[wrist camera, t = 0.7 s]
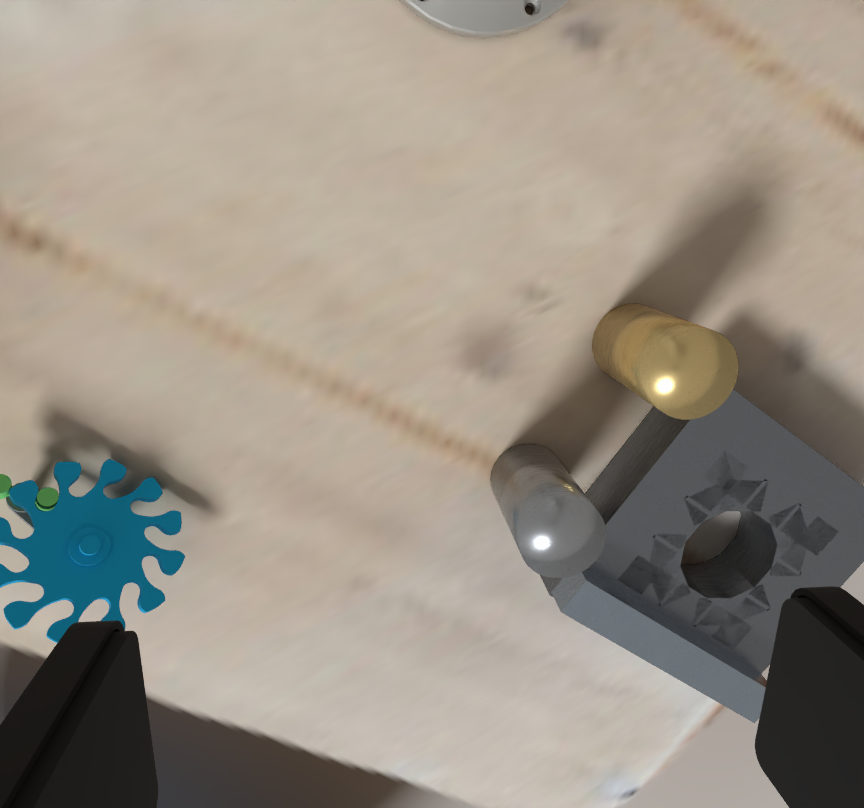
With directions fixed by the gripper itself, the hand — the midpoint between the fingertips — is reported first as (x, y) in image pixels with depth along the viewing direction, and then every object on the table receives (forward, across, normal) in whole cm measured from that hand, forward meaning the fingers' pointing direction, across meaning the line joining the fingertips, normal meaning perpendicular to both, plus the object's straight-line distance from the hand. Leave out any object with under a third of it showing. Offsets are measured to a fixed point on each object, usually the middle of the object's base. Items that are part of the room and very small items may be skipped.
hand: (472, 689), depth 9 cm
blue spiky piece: (+30, +17, +11) cm, 36 cm away
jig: (+30, -21, +13) cm, 38 cm away
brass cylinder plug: (+30, -14, +1) cm, 33 cm away
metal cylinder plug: (+30, -9, +10) cm, 32 cm away
